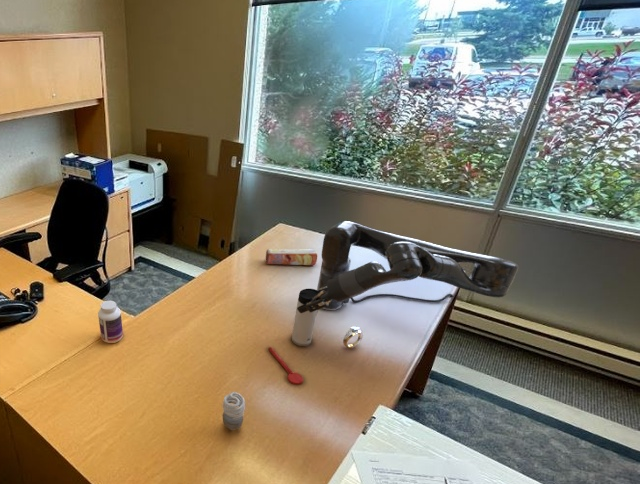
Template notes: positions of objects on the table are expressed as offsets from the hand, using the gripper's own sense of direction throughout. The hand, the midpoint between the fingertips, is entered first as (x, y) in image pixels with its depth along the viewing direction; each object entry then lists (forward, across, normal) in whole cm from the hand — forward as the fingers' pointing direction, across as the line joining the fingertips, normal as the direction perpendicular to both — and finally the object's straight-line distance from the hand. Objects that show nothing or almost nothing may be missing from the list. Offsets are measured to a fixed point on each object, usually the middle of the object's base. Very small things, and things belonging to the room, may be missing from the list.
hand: (303, 304), depth 136 cm
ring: (-1, +6, -21) cm, 22 cm away
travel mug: (+9, 0, -11) cm, 15 cm away
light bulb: (+11, -47, -10) cm, 49 cm away
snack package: (+26, +50, +5) cm, 57 cm away
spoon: (+9, -15, -11) cm, 21 cm away
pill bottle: (+48, -37, +28) cm, 67 cm away
